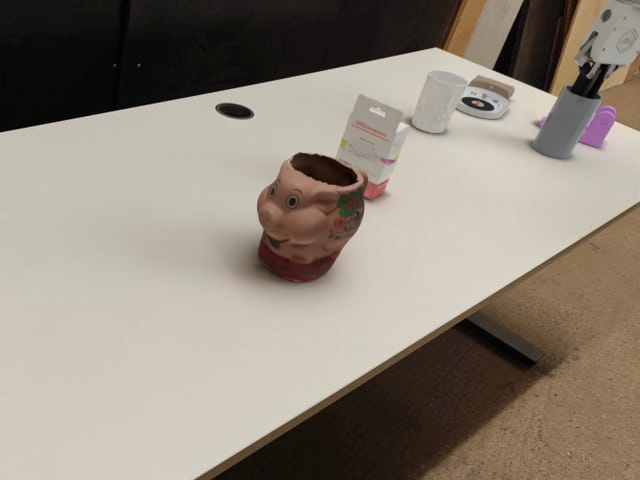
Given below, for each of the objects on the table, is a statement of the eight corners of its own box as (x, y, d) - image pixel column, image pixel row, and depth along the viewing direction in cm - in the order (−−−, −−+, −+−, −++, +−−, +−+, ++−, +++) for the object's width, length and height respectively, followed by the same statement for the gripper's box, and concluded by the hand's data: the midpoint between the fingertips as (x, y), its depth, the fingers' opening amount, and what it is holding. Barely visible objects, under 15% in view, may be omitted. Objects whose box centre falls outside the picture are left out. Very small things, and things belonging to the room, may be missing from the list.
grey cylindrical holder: (576, 158, 137) (611, 100, 129) (548, 158, 135) (582, 99, 126) (552, 142, 142) (584, 85, 134) (524, 141, 140) (555, 84, 132)
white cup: (448, 126, 140) (470, 77, 133) (443, 138, 134) (466, 89, 128) (411, 114, 142) (431, 66, 135) (405, 126, 136) (425, 77, 129)
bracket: (600, 140, 147) (619, 109, 142) (598, 147, 143) (618, 116, 139) (540, 120, 151) (557, 89, 146) (537, 127, 147) (554, 95, 142)
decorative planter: (305, 219, 102) (334, 131, 93) (372, 258, 96) (411, 169, 87) (219, 259, 90) (243, 164, 81) (290, 307, 85) (324, 210, 75)
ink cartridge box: (384, 193, 112) (420, 107, 102) (370, 201, 109) (405, 113, 100) (341, 171, 116) (372, 86, 106) (326, 179, 113) (356, 92, 103)
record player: (521, 88, 156) (501, 110, 143) (515, 101, 158) (494, 124, 145) (473, 71, 160) (449, 92, 147) (467, 84, 162) (443, 106, 149)
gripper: (621, -3, 113) (561, 104, 126) (688, 4, 118) (624, 106, 131) (590, -17, 119) (535, 87, 131) (656, -9, 123) (597, 90, 136)
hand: (580, 96), depth 131 cm, fingers closed
